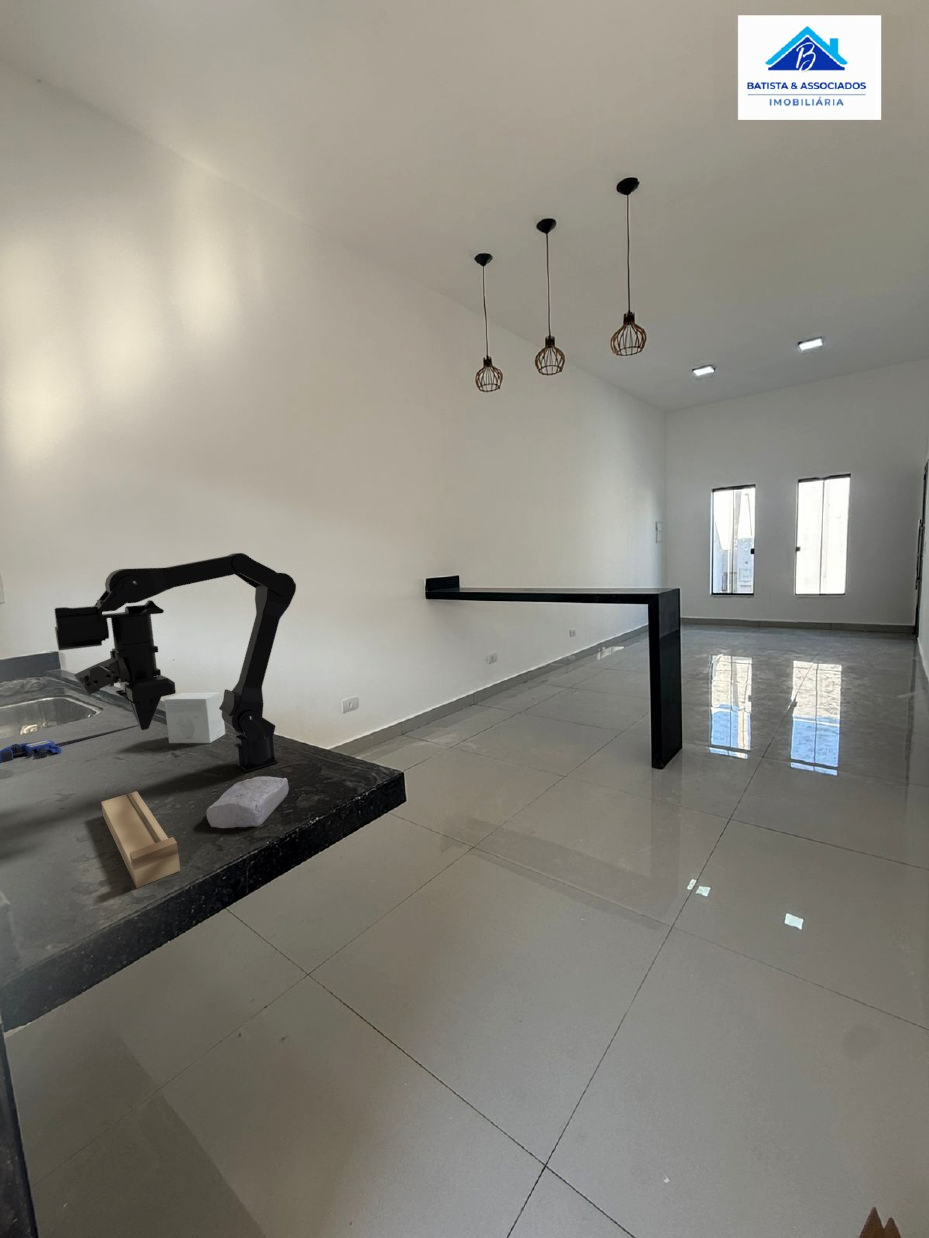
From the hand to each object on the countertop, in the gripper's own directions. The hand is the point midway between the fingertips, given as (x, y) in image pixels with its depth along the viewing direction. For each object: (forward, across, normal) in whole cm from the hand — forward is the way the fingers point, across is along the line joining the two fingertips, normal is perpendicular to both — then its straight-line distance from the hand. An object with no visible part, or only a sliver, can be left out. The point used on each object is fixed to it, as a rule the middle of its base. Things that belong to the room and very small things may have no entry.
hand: (144, 729), depth 88 cm
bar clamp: (+13, -45, -1) cm, 47 cm away
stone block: (+13, +19, +9) cm, 24 cm away
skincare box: (+12, -24, +16) cm, 31 cm away
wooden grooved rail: (+12, +15, -6) cm, 20 cm away
